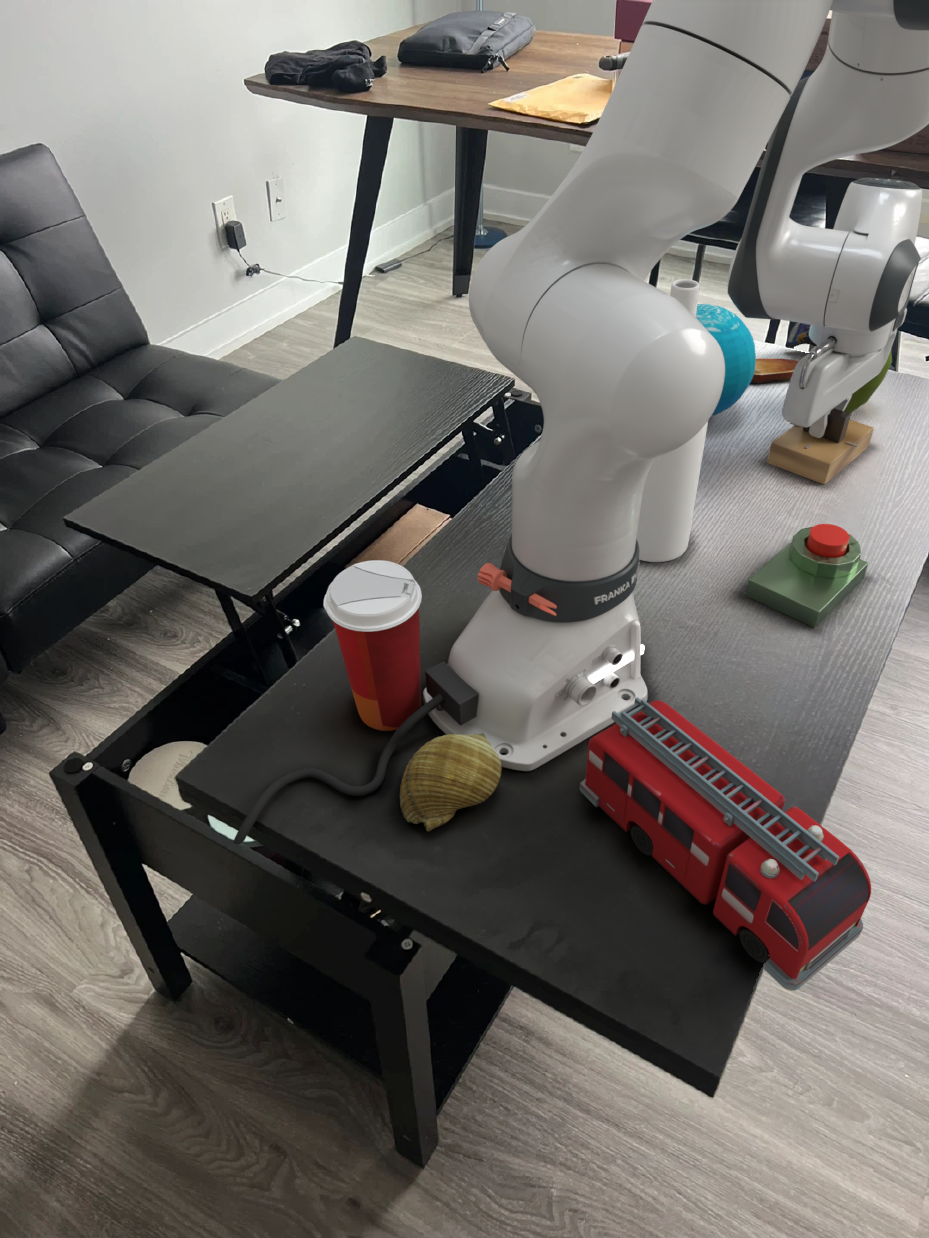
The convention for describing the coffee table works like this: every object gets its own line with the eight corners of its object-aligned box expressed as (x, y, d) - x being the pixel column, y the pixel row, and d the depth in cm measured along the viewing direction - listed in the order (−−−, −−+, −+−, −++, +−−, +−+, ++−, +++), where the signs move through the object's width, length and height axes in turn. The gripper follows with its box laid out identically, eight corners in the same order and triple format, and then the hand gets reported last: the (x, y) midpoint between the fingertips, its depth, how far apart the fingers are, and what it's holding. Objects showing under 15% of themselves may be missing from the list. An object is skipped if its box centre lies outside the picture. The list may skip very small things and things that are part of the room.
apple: (886, 422, 124) (911, 341, 117) (826, 425, 124) (846, 345, 116) (861, 392, 131) (883, 314, 123) (803, 396, 131) (821, 318, 123)
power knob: (844, 438, 115) (851, 411, 113) (838, 443, 115) (845, 416, 112) (808, 425, 118) (814, 399, 116) (802, 430, 117) (808, 404, 115)
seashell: (432, 856, 78) (477, 847, 72) (369, 809, 77) (408, 795, 70) (482, 765, 83) (528, 749, 77) (423, 719, 82) (465, 699, 75)
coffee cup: (439, 679, 89) (427, 558, 79) (425, 743, 83) (411, 621, 73) (355, 674, 90) (334, 554, 80) (336, 737, 84) (310, 615, 74)
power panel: (829, 486, 113) (835, 464, 111) (762, 461, 118) (767, 439, 116) (872, 449, 119) (879, 427, 117) (807, 426, 124) (812, 405, 122)
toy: (788, 1002, 63) (819, 925, 57) (576, 798, 78) (581, 717, 71) (861, 938, 67) (898, 858, 60) (645, 754, 81) (656, 673, 75)
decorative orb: (616, 417, 128) (626, 313, 118) (671, 378, 136) (683, 278, 126) (713, 450, 120) (731, 342, 110) (764, 406, 129) (785, 302, 119)
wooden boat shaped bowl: (814, 369, 137) (817, 358, 136) (823, 386, 133) (826, 374, 132) (718, 369, 138) (720, 358, 137) (724, 386, 134) (726, 375, 133)
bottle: (650, 572, 101) (684, 307, 81) (602, 537, 106) (624, 281, 86) (703, 546, 104) (748, 286, 85) (654, 514, 109) (686, 262, 90)
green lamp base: (814, 628, 93) (823, 598, 90) (745, 595, 97) (751, 565, 95) (867, 574, 99) (877, 545, 97) (800, 545, 104) (807, 517, 101)
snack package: (845, 329, 129) (783, 313, 138) (832, 375, 132) (771, 356, 140) (898, 331, 135) (835, 316, 144) (884, 375, 138) (823, 357, 146)
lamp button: (834, 563, 95) (838, 550, 94) (799, 548, 97) (802, 535, 96) (852, 546, 97) (856, 533, 96) (817, 532, 99) (821, 519, 98)
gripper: (833, 362, 100) (806, 470, 109) (913, 305, 111) (883, 408, 120) (781, 346, 103) (759, 453, 112) (864, 293, 114) (838, 394, 123)
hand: (823, 429), depth 116 cm, fingers closed
